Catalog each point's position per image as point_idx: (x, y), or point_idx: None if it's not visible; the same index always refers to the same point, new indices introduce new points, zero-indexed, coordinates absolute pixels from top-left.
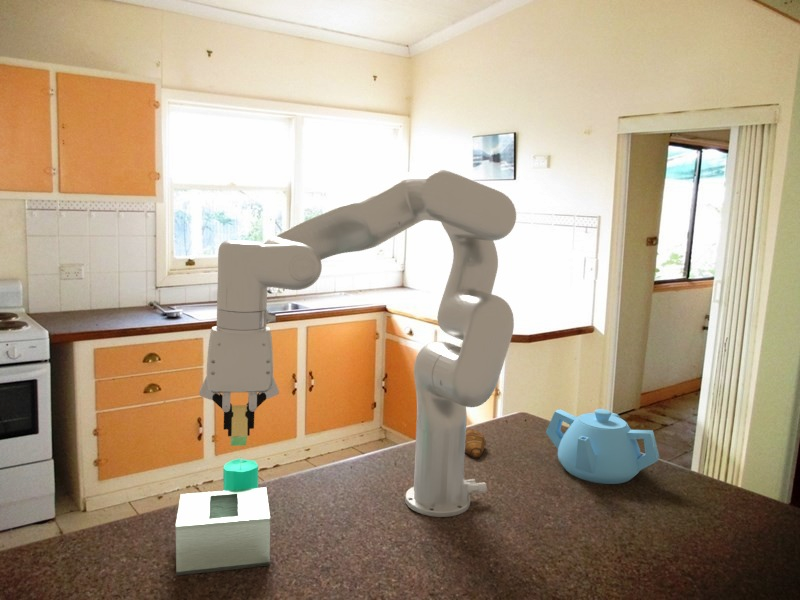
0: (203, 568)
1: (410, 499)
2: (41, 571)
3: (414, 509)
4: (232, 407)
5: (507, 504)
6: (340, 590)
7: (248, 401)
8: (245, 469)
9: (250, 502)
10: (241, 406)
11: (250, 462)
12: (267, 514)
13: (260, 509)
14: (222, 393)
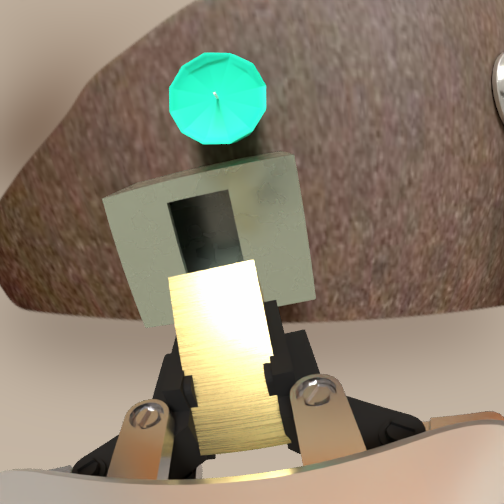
0: None
1: (500, 91)
2: (15, 271)
3: (502, 118)
4: (206, 451)
5: None
6: (390, 313)
7: (294, 421)
8: (232, 109)
9: (267, 234)
10: (256, 447)
11: (239, 65)
12: (309, 285)
13: (293, 266)
14: (111, 468)
